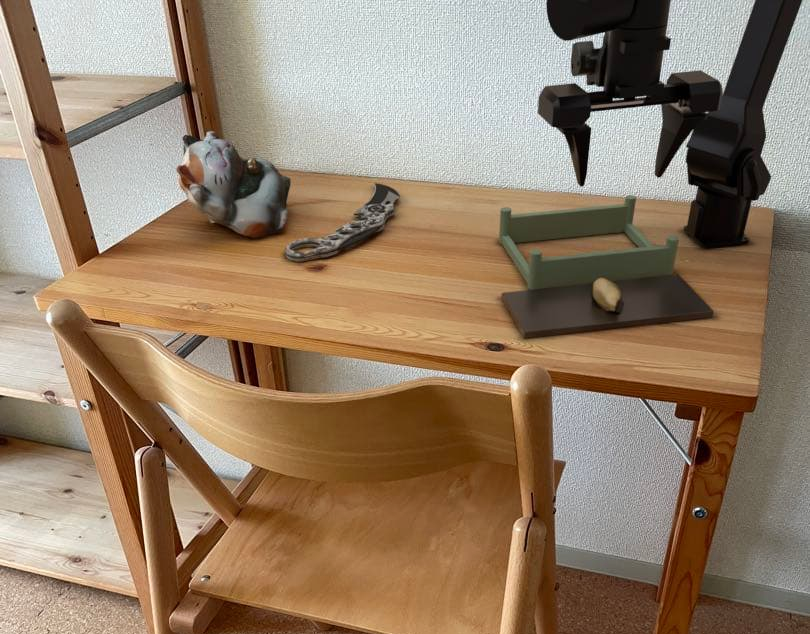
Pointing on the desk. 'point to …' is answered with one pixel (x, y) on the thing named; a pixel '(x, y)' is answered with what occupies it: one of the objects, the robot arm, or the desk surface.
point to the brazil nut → (607, 295)
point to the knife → (349, 227)
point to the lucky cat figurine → (233, 187)
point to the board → (582, 313)
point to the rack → (584, 265)
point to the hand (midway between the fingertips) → (619, 180)
